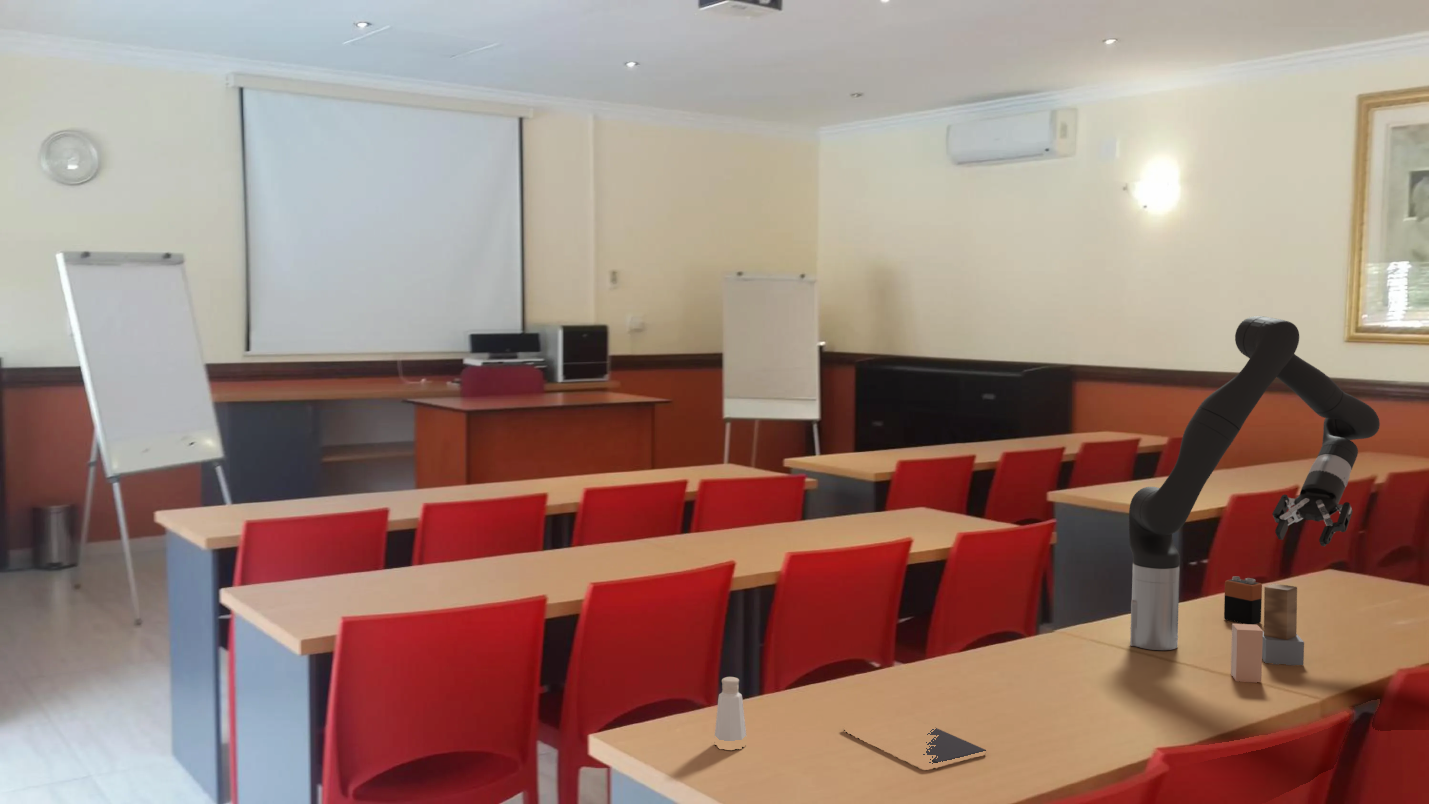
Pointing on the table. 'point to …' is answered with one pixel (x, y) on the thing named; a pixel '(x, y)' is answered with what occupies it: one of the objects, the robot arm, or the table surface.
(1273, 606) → the walnut block
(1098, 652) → the table surface
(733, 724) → the pepper shaker
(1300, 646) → the slate gray block
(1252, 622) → the battery
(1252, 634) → the pale pink block
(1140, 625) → the robot arm
